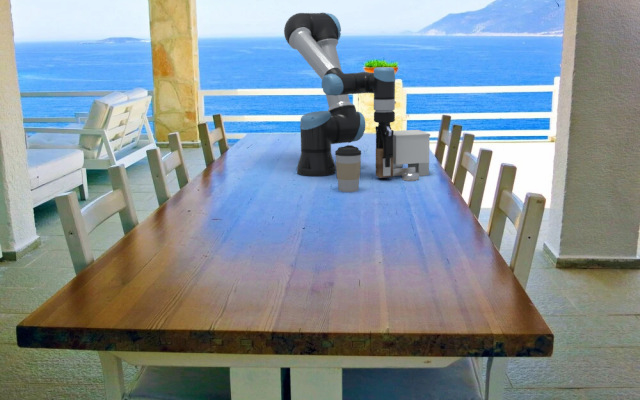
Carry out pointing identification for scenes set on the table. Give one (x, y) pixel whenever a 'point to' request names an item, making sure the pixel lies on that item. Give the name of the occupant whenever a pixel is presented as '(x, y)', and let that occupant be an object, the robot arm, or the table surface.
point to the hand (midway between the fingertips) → (384, 174)
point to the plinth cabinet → (412, 150)
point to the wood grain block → (393, 171)
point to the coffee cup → (348, 168)
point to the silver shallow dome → (410, 176)
